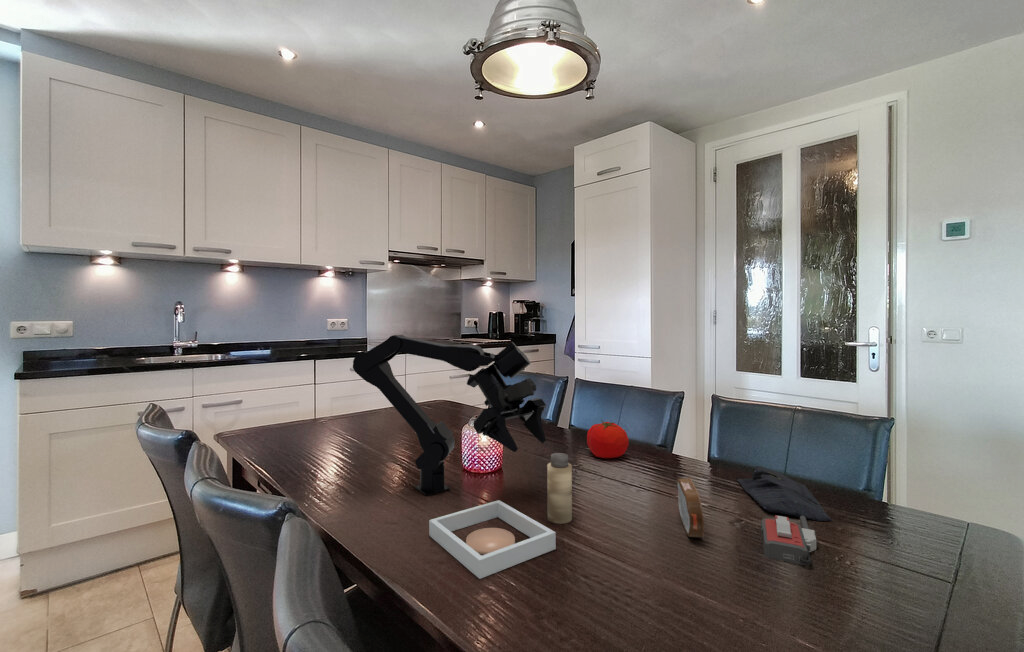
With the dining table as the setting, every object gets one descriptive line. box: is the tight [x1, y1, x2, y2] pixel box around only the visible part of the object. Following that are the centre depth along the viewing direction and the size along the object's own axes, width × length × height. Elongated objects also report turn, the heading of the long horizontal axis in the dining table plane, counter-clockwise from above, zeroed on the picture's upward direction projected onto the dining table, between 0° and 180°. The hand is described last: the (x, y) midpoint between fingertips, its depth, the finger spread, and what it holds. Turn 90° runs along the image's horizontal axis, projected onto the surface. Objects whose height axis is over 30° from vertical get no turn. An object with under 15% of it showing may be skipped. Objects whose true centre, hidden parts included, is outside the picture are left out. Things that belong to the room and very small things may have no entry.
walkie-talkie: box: [760, 514, 817, 566], centre depth 86 cm, size 9×4×20 cm
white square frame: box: [428, 499, 557, 580], centre depth 86 cm, size 18×16×3 cm
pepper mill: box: [546, 452, 573, 525], centre depth 96 cm, size 5×5×13 cm
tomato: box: [586, 419, 630, 459], centre depth 137 cm, size 11×13×10 cm
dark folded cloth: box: [737, 465, 833, 522], centre depth 105 cm, size 15×22×5 cm
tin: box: [676, 477, 705, 539], centre depth 92 cm, size 15×3×8 cm, turn 168°
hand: (530, 446), depth 101 cm, fingers open, 9 cm apart
